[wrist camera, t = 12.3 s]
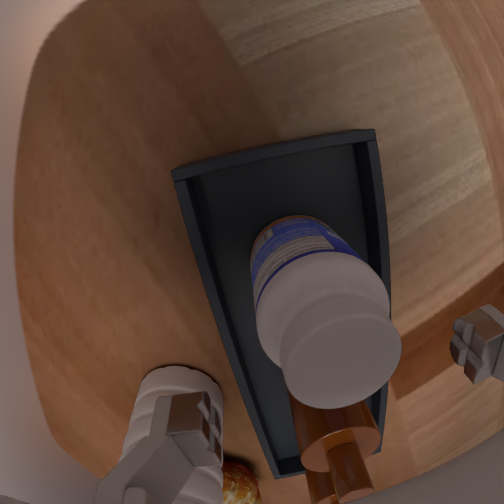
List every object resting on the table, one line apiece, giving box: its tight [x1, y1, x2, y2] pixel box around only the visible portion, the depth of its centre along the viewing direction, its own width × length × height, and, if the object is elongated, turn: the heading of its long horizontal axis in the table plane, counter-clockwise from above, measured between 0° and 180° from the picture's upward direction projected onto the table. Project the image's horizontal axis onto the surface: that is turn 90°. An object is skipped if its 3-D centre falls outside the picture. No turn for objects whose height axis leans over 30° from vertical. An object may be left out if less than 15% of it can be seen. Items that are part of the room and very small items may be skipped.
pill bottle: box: [250, 215, 401, 409], centre depth 14 cm, size 5×5×10 cm
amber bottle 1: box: [282, 371, 381, 504], centre depth 16 cm, size 4×4×11 cm
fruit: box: [221, 457, 261, 504], centre depth 24 cm, size 11×10×8 cm
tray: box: [171, 129, 391, 479], centre depth 20 cm, size 27×10×3 cm, turn 13°
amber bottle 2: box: [304, 467, 340, 504], centre depth 19 cm, size 4×4×11 cm
